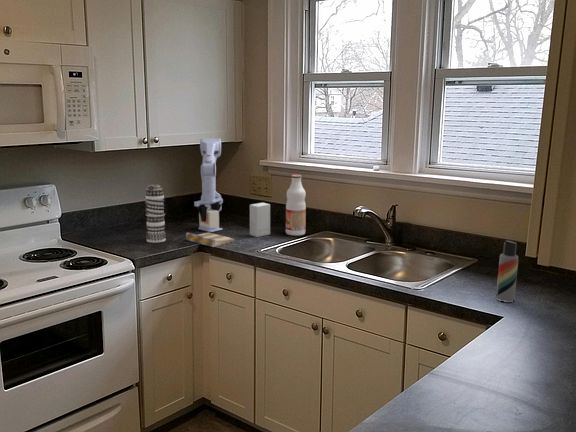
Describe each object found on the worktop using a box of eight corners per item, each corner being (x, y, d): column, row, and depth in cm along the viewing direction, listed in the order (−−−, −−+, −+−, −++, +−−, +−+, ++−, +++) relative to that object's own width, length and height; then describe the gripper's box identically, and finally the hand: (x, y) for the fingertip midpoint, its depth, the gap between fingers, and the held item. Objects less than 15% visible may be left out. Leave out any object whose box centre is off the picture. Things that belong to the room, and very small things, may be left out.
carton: (209, 228, 258) (209, 212, 257) (199, 225, 264) (198, 209, 262) (219, 226, 262) (218, 211, 260) (208, 223, 267) (208, 208, 266)
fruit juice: (300, 236, 273) (301, 177, 268) (282, 234, 277) (282, 175, 272) (308, 232, 282) (309, 174, 276) (291, 230, 286) (291, 173, 280)
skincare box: (263, 232, 280) (263, 202, 277) (270, 235, 276) (271, 203, 273) (248, 235, 275) (248, 203, 272) (256, 237, 271) (256, 205, 268)
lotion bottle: (492, 297, 194) (498, 238, 190) (509, 297, 195) (515, 238, 191) (500, 303, 189) (506, 243, 185) (517, 303, 189) (523, 243, 185)
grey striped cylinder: (170, 240, 262) (168, 185, 257) (151, 243, 257) (149, 187, 251) (161, 236, 269) (159, 182, 264) (142, 239, 263) (140, 184, 258)
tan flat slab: (185, 239, 264) (185, 233, 263) (208, 234, 274) (208, 228, 273) (212, 247, 252) (212, 239, 252) (235, 241, 262) (235, 234, 262)
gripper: (200, 193, 252) (201, 224, 254) (227, 189, 262) (227, 219, 264) (191, 191, 256) (191, 221, 259) (217, 187, 267) (217, 217, 269)
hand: (209, 220), depth 262 cm, fingers closed on carton, 5 cm apart
